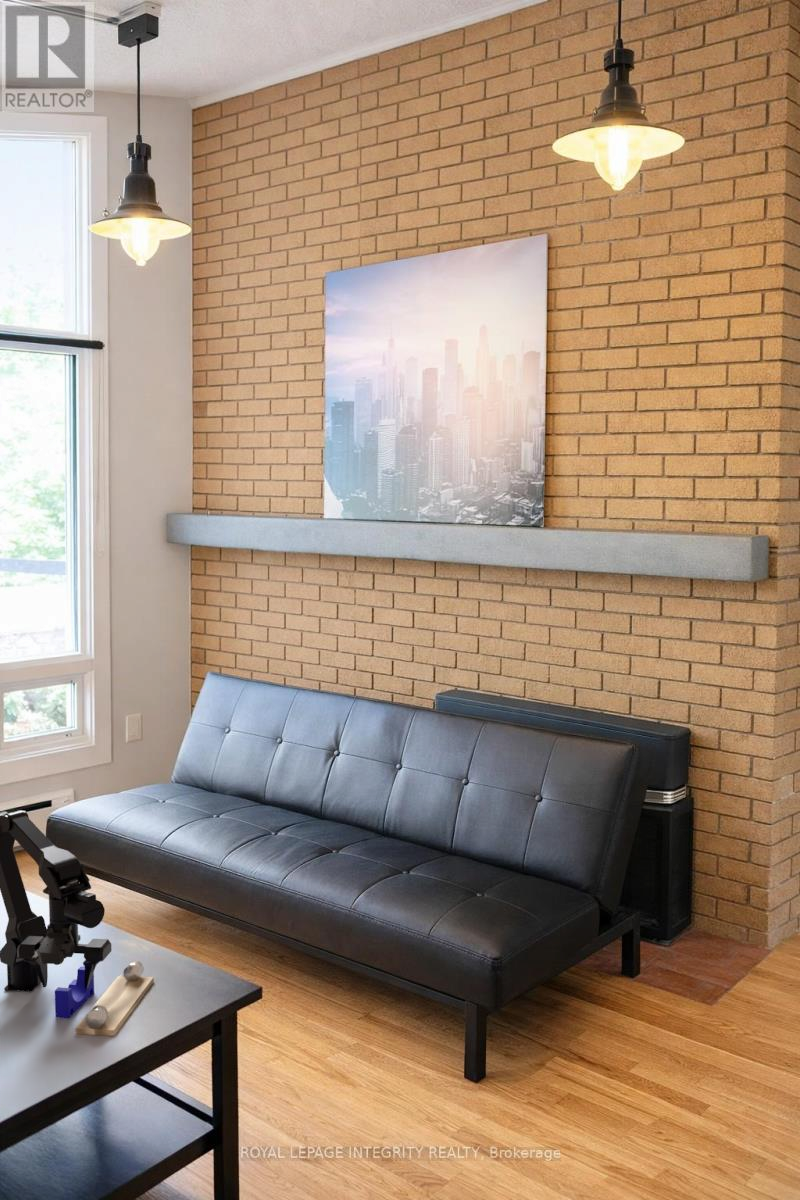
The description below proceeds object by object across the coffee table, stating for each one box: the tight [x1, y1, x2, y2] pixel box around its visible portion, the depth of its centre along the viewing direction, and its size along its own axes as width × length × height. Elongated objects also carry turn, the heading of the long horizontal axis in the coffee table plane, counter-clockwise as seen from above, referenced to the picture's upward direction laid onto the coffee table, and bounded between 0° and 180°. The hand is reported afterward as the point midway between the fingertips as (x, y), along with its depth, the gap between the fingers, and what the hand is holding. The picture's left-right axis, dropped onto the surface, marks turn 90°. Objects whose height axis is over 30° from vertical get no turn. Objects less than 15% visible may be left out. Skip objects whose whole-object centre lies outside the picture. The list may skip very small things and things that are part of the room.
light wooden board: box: [74, 975, 155, 1037], centre depth 239 cm, size 8×25×1 cm, turn 174°
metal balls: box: [85, 960, 145, 1029], centre depth 239 cm, size 4×25×4 cm, turn 174°
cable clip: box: [54, 966, 95, 1019], centre depth 240 cm, size 12×4×6 cm, turn 170°
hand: (65, 987), depth 240 cm, fingers open, 9 cm apart
